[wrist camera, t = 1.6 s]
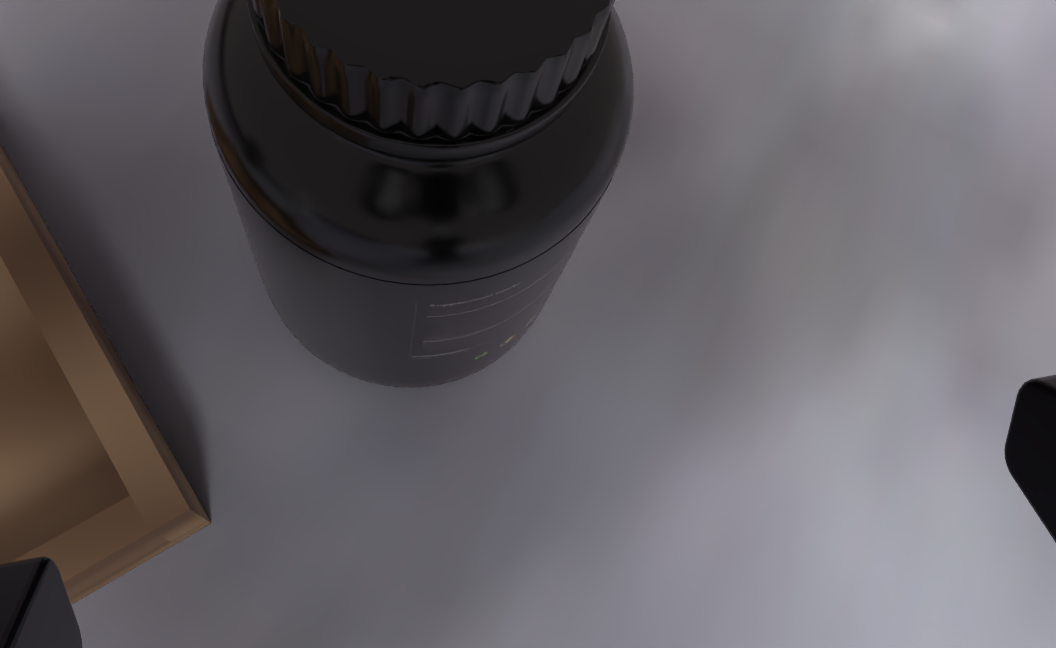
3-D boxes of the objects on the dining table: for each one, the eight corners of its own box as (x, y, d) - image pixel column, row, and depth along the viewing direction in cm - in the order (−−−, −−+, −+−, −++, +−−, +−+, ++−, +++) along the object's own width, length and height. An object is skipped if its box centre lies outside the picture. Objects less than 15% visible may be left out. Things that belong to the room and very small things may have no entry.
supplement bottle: (200, 225, 23) (25, -172, 12) (435, 78, 25) (482, -384, 14) (380, 459, 22) (380, 273, 11) (609, 286, 24) (816, -26, 13)
